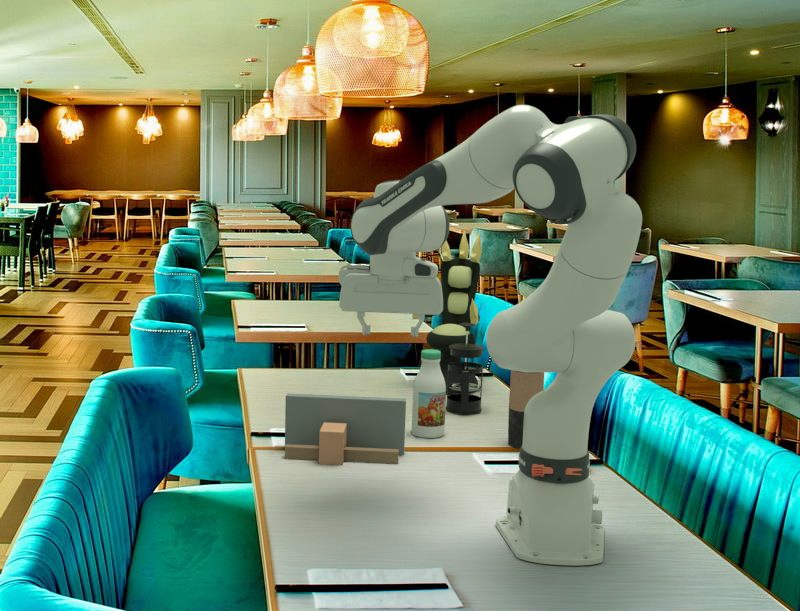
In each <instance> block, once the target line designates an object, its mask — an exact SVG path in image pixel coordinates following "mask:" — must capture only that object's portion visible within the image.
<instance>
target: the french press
mask: <svg viewBox="0 0 800 611" xmlns="http://www.w3.org/2000/svg"><path fill="white" fill-rule="evenodd" d="M459 325H461V326H465V331H466V344H452V345H449V348H451V355H452V356H455V357H461V359H462V358H463V359H464V361H462V362H452V363H449V364H448V383H447V393H446V405H445V412H448V413H451V414H454V415H460V416H461V415H462V416H473V415H478V414H480V413H482V411H483V409H482V397H483V396H482V392H483V372H484V366H483V364H482V363H478V362H472V361H467V359H475V358H480V357H482V356H483V351H484V349H485V347H484V346H483V345H479V344H476V343H475V344H467V339H468V331H469V326H471V327H476V325H477V324H473V323H460V324H459ZM455 367H462V368H455ZM468 368H469V369H468ZM449 371H451V372H454V373H461V383H452V384H449ZM470 374H474V375H477V374H480V385H479V384H478V385H477V384H472V383H469V375H470ZM448 386H449V389H451V390H454V391H458V392H461V393H460V394H448ZM479 391H480V396H478V395H475V394H470V393H474V392H479Z"/></svg>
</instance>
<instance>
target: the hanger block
mask: <svg viewBox="0 0 800 611" xmlns="http://www.w3.org/2000/svg"><path fill="white" fill-rule="evenodd" d="M346 441H347V423H327V422H324V423H323V425H322V427H321V429H320V432H319V460H318V465H331V466H332V465H334V466H343V465H344V462H345V461H344V447H346Z"/></svg>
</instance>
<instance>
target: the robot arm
mask: <svg viewBox="0 0 800 611" xmlns="http://www.w3.org/2000/svg"><path fill="white" fill-rule="evenodd" d="M563 122H564V123H562V124H557V123H554V122H552V121H550V119H549V118H548V117H547V115H546V114H545V113H544V112H543V111H541V110H540V109H538V108H537V107H535V106H531V105H529V104H516V105H514V106H511V107H509V108H507V109H506V110H503V111H502V112H501V113H499V114H497V115H495V116H494V117H493V118H491V119H490V120H488V121H487V122H485V123H484V124H483V125H482V126H481V127H479V128H478V129H477V130H476V131H475V132H474V133H473V134H472V135H470V136H469V137H467V139H466V140H464V141H462V143H460V144H457V146H455V147H453V149H451V150H449V151H447V152H445V153H444V154H442V155H441V156H439V157H436V158H435V159H433V160H432V161H429V162H427V163H426V164H424V165H421V166H420V167H418V168H417V169H415V170H413V171H412V172H411V173H409V174H408V175H407V176H405V177H403V178H402V179H396V180H395V179H394V180H387V181H382V182H380V183H379V184H377V185H376V187H375V190H374V193H373V197H367V198H365V199H364V200H363V201H361V202H360V203H359V205H358V206H357V207H356V208H355V210H354V212H352V215H351V220H350V227H349V228H350V233H351V237H352V240H354V242H355V244H356V245H357V247H359V249H361V250H362V251H363V252H364V253H365V254H367V255H368V256H369V263H357V264H356V263H353V262H352V263H351V262H350V263H346V264H345V265H343V266H342V267H340V269H339V271H338V282H339V285H341V288H340V293H339V301H338V302H339V303H338V307H339V308H340V310H341V311H343V312H353V313H354V312H355V313H356V318H357V320H358V321H359V323H360V325H361V327H362V329H361V330H362V331H361V334H362V336H371V326H372V325H371V324H367V322H366V321H365V319H364V318H365V316H366V313H376V314H378V313H380V314H382V313H383V314H401V315H402V314H404V315H406V314H407V315H412V314H417V319H416V320H417V321H418V322H417V323H416V325H415V326H411V327H410V337H411V338H419V330H420V328H421V326H422V325H423V323H424V321H425V318H426V317H425V314H427V315H435V316H440V315H441V314H440V313H441V312H442V311H443V294H442V282H441V280H440V278H439V277H438V273H439V266H438V265H437V264H436V263H434V262H432V261H429V260H427V259H424V258H421V257H418V256H417V253H428V252H434V251H439V250H440V248H441V249H442V246H443V244H444V243H445V241H447V239H448V237H449V234H450V225H451V224H450V223H451V222H450V218H449V215H448V212H447V210H446V209H445V207H444V206H451V205H452V206H453V205H469V204H470V205H471V204H473V205H474V204H477V205H478V204H486V203H490V202H493V201H495V200H497V199H501V198H502V197H504V196H506V195H508V194H510V193H511V192H512V191H513V190H515V193H516V194H517V196H518V198H519V199H520V201H521V202H522V203H523V204H524V205H525V206H526V207H527V208H528V209H530V210H531V211H533V212H534V213H535V214H537V215H538V216H541V217H543V218H547V220H548V221H549V222H551V223H552V224H555V225H566V230H565V232H564V235H563V238H562V240H561V243H560V245H559V246H560V247H559V249H558V250H557V253H556V256H555V258H554V261H553V263H552V266H551V267H550V270H549V272H548V274H547V276H546V278H545V279H544V280H543V281H542V283H541V284H539V286H538V287H537V288H536V289H535V290H534V291H532V292H531V293H530V294H529V295H528V296H527V297H525V298H524V299H523V300H521V301H520V302H519V303H517V304H515V305H513V306H510V307H509V308H506V309H505V310H501V311H499V312H498V313H497V314H496V315H495V316H494V317H493V318H492V320H491V322H490V323H489V326H488V328H487V331H486V348H487V352H488V354H489V356H490V358H491V360H492V361H493V362H494V364H495V365H496V366H498V367H499V368H500V369H505V370H510V371H511V370H514V371H519V372H525V373H533V372H544V373H557V374H556V376H555V378H554V379H553V380H552V382H551V383H550V384H549V385H548V386H547V387H546V388H544V390H543V391H541V392H539V393H537V394H536V395H534V396H533V397H532V398H531V399H530V400H529V401H528V403H527V405H526V407H525V410H524V427H523V445H522V446H521V447H520V449H519V453H518V457H517V458H518V469H519V470H518V471H517V472H516V473H515V474H514V475H513V476H512V477H510V478H509V482H508V491H507V501H506V502H507V504H506V511H505V512H506V515H505V516H500V517H497V518H496V519H495V527H496V529H497V530H498V532H499V533H500V535H501V536H502V537H503V539H504V541H505V542H506V543H507V545H508V546H509V548H510V550H511V551H512V553H513V554H514V556H515V557H516V558H517V559H520V560H522V561H527V562H531V563H535V564H536V563H537V564H542V565H543V564H544V565H552V566H590V565H597V564H601V563H603V562H604V552H605V551H604V549H605V547H604V546H605V532H606V531H605V525H604V524H603V510H600V509H599V510H598V509H594V505H599V500H600V499H599V496H598V495H594V494H595V485H596V484H595V482H594V481H593V480H592V479H590V465H591V461H590V460H591V459H590V452H589V451H588V445H589V442H588V441H589V433H590V432H589V431H590V423H591V417H592V412H593V408H594V406H595V403H596V400H597V398H598V396H599V394H600V392H601V390H602V389H603V387H604V386H605V385H606V383H607V382H608V380H609V379H611V377H612V376H613V375H614V374H616V372H617V371H619V370H620V369H621V368H623V367H624V366H626V364H628V362H630V360H631V358H632V357H633V354H634V353H635V352H634V351H635V349H636V348H635V347H636V340H637V339H636V333H635V332H636V331H635V329H634V326H633V324H632V322H631V320H630V319H629V318H628V316H627V315H625V314H624V313H623V312H621V311H615V310H611V309H610V308H611V306H612V305H613V304H614V303H615V301H616V299H617V297H618V294H619V292H620V290H621V287H622V285H623V284H624V282H625V281H624V280H625V279H626V276H627V274H628V272H629V269H630V268H631V264H632V262H633V260H634V257H635V254H636V251H637V247H638V244H639V240H640V235H641V231H642V230H641V229H642V225H643V214H642V209H641V208H640V206H639V204H638V203H637V201H636V200H635V199H634V198H633V197H632V196H630V195H628V194H627V193H625V192H622V191H620V190H619V189H617V187H616V186H615V183H614V182H615V181H617V180H619V179H620V178H621V177H622V176H624V174H625V173H626V172H627V171H628V169H630V167H631V165H632V164H633V162H634V160H635V157H636V154H637V141H636V138H635V135H634V133H633V131H632V129H631V128H630V126H629V124H627V122H625V121H624V120H623V119H621V118H620V117H617V116H616V115H612V114H602V113H601V114H600V113H599V114H590V115H583V116H582V115H578V116H576V115H575V116H568V117H567V118H566V119H565V121H563ZM439 314H440V315H439Z"/></svg>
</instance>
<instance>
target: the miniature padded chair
mask: <svg viewBox="0 0 800 611" xmlns="http://www.w3.org/2000/svg"><path fill="white" fill-rule="evenodd" d="M469 247H470V245H469V242H468V239H467V234H466V230H465V229H464V231H463V233H462V236H461V240H460V243H459V257H458V258H452V254H451V253H452V252H451V249H450V245H449V243H448V241H447V240H446V241H445V243H444V244H443V246H442V247H441V250H440V251H441V254H442V255H441V256H442V260H443V261H442V262H441V264H440V278H441V280H440V282H441V286H442V294H443V311H442V312H441V313H440V314H439V315H438V316H441V325H438V326H436V327H435V328H433V329H432V330H431V331H429V332H427V335H426V338H425V340H426V343H427V345H428V346H429V347H430V348H432V349H433V350H439V351H440V352H441V358H440V359H441V360H440V369H441V372H442V374H443V377H444V380H445V384H446V394H447V383H448V364H449V363H452V362H463V361H462V358H461V357H455V356H452V355H451V348H449V345H452V344H466V331H465V326H461V325H459V324H460V323H473V324H475V325H477V324H479V322H480V318H481V317H480V313H479V311H478V309H479V308H478V306H477V304H476V302H475V300H476V295H477V289H478V284H479V280H480V273H481V266H480V260H481V257H482V251H483V248H482V243H481V232H479V233H478V234H477V237H476V239H475V241H474V242H473V246H472V248H471V255H470V259H469V258H468V257H469V253H470V248H469ZM411 315H412V319H411V320H418V319H417V314H411ZM434 316H436V315H427V314H425V318H428V317H429V318H430V317H434ZM471 327H472V326H469V331H468V339H467V344H475V345H476V337H475V335H474V334H473V333H472V332H471ZM455 368H462V367H455ZM468 369H470V367H468ZM478 381H479V380H478V378H477V377H476V374H470V375H469V383H472V384H477V385H479V382H478ZM452 383H461V373H454V372H451V371H449V384H452ZM452 394H461V392H458V391H454V390H451V389H449V386H448V395H452Z"/></svg>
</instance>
